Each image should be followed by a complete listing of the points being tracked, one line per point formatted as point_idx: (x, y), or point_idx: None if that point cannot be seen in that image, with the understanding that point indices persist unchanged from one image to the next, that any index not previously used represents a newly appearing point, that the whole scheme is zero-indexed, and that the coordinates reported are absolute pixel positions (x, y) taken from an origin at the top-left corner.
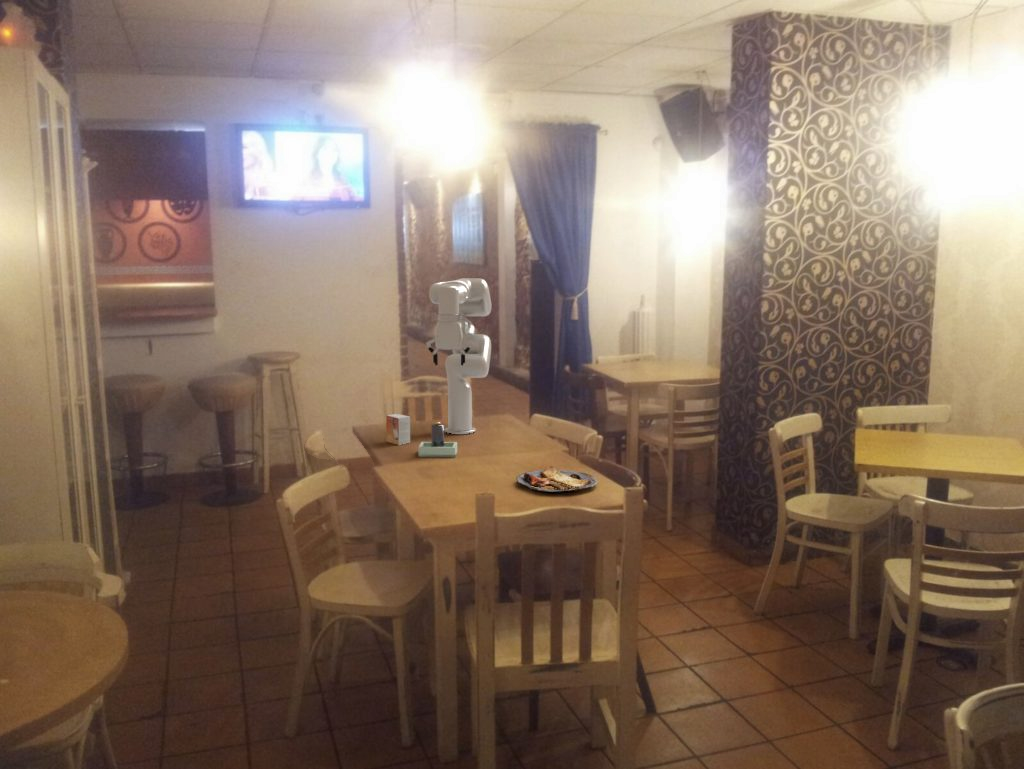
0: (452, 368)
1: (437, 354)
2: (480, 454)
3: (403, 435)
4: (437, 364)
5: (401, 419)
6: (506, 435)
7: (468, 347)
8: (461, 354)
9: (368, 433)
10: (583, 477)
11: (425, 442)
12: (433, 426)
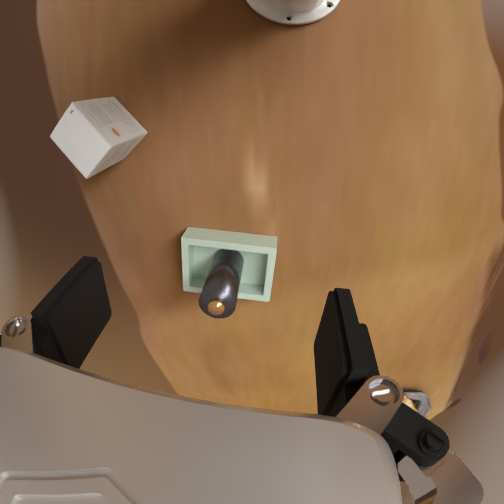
0: None
1: (56, 336)
2: (330, 269)
3: (123, 153)
4: (104, 285)
5: (95, 170)
6: (428, 61)
7: (413, 479)
8: (338, 382)
9: (50, 35)
10: (423, 404)
11: (192, 244)
12: (206, 312)
